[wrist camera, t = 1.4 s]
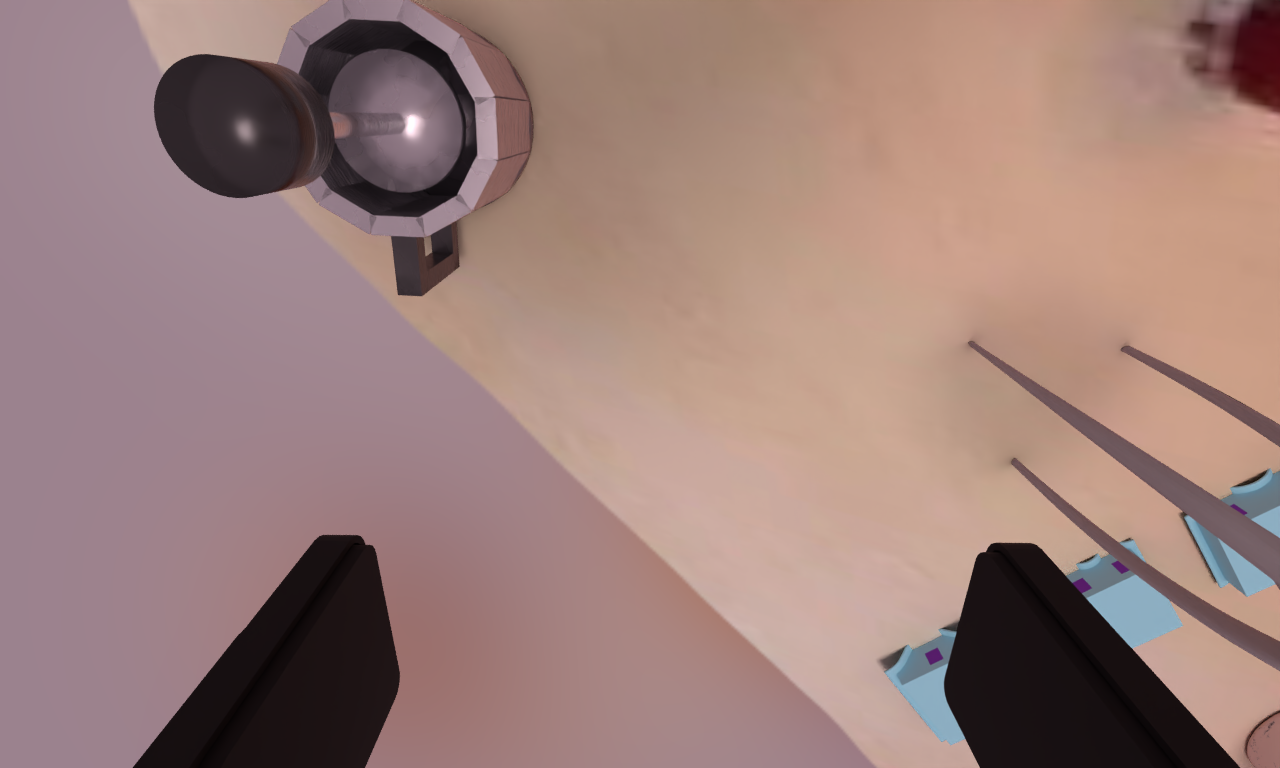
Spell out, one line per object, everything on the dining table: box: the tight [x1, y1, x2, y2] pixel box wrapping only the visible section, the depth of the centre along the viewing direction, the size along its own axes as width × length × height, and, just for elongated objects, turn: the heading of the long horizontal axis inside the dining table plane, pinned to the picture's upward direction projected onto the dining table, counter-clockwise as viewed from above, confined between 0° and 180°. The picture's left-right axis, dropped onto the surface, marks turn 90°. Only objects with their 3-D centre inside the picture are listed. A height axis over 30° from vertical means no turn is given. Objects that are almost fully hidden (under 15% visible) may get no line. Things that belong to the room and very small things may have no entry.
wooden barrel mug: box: [277, 0, 534, 296], centre depth 32 cm, size 13×10×9 cm
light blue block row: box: [885, 469, 1280, 745], centre depth 48 cm, size 34×3×10 cm
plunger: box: [154, 49, 466, 198], centre depth 23 cm, size 6×6×13 cm
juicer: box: [969, 342, 1280, 671], centre depth 28 cm, size 10×9×30 cm
